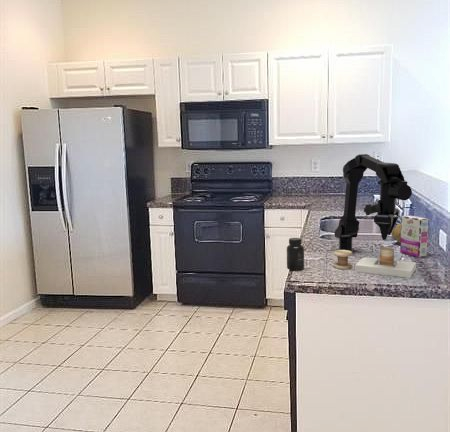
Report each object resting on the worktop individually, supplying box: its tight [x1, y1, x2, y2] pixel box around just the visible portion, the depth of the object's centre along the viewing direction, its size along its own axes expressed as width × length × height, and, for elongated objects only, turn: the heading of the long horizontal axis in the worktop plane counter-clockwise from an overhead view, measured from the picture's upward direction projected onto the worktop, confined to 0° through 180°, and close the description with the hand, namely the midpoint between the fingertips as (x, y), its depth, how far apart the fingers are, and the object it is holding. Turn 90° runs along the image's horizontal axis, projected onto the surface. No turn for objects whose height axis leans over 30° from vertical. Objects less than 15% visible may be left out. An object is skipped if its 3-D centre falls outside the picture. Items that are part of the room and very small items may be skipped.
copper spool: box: [379, 246, 395, 266], centre depth 185 cm, size 5×5×8 cm
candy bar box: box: [399, 214, 430, 259], centre depth 205 cm, size 11×5×16 cm, turn 23°
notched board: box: [354, 257, 417, 279], centre depth 184 cm, size 13×20×2 cm, turn 61°
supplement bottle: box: [286, 237, 305, 272], centre depth 188 cm, size 7×7×12 cm
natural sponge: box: [391, 223, 401, 245], centre depth 224 cm, size 9×9×10 cm
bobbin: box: [333, 249, 353, 270], centre depth 190 cm, size 7×7×6 cm
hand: (386, 237), depth 184 cm, fingers open, 9 cm apart
